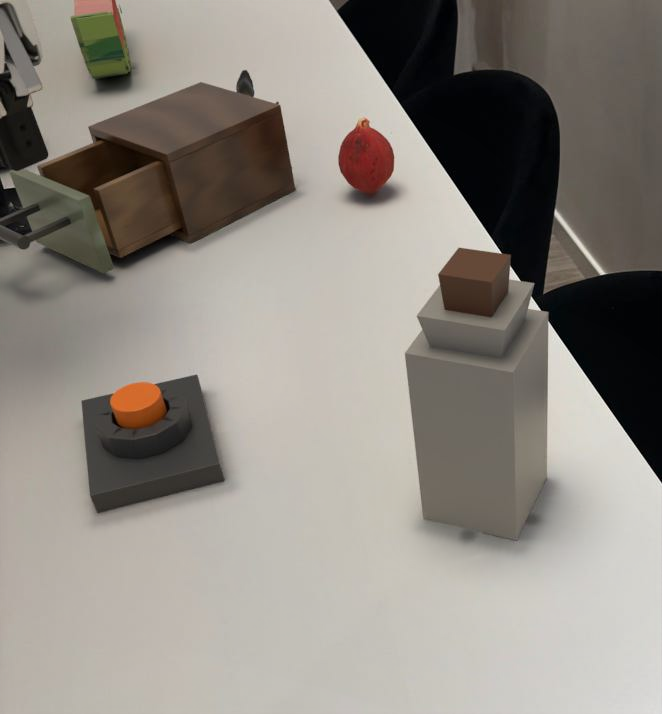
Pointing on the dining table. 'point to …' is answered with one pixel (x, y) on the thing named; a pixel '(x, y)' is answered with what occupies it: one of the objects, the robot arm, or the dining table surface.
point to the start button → (138, 405)
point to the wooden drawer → (94, 204)
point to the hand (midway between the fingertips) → (26, 162)
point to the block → (150, 449)
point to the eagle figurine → (246, 84)
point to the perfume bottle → (480, 397)
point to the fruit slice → (101, 37)
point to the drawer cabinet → (209, 152)
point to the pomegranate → (366, 158)
